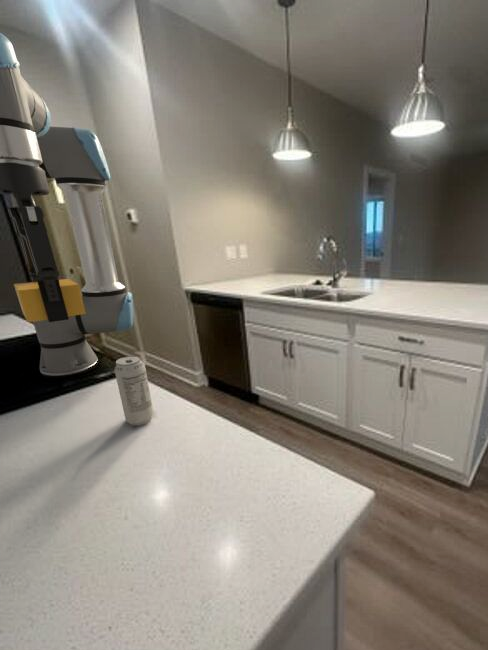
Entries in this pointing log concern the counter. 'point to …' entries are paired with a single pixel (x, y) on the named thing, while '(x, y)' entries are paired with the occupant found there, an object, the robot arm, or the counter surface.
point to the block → (34, 303)
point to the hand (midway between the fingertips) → (54, 315)
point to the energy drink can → (134, 390)
